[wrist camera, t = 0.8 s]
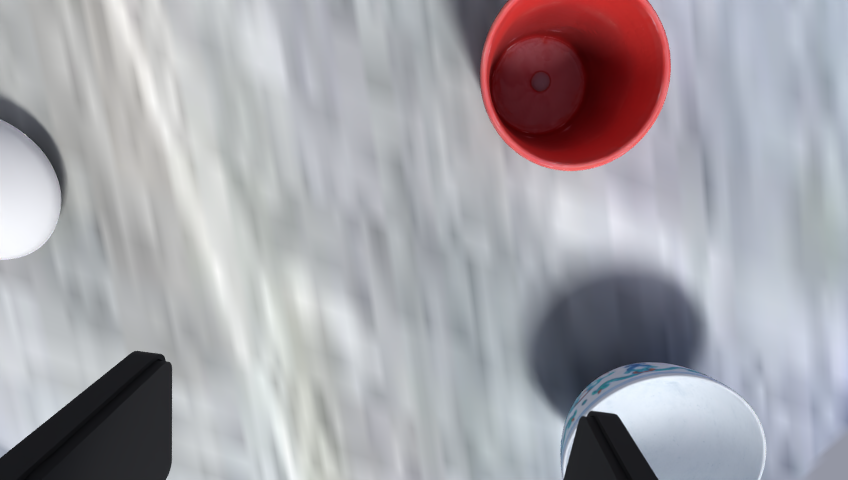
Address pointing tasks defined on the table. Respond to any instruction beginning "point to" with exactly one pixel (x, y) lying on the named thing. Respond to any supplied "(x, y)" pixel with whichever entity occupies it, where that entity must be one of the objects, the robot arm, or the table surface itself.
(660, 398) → the chinaware
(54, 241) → the table surface
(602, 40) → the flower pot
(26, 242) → the flower in vase
